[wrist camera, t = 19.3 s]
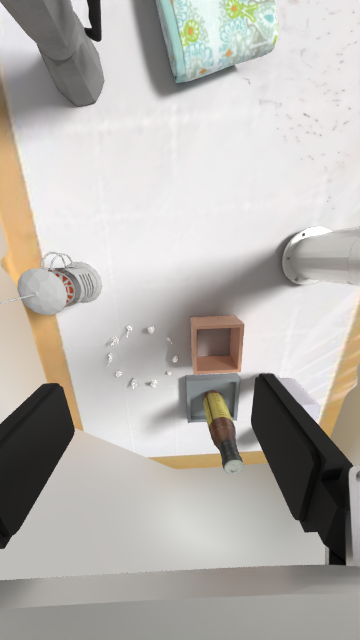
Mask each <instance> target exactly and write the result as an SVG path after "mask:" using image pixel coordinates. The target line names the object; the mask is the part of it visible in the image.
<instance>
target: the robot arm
mask: <svg viewBox="0 0 360 640" xmlns="http://www.w3.org/2000/svg"><path fill="white" fill-rule="evenodd" d="M282 267H283V271H284V273H285V275H286V276H287V278H288V279H289V280H291V281H292V282H294V283H296V284H301V285H311V284H315V283H317V282H319V281H327V282H334V283H341V284H348V285H355V286H360V226H359V227H353V228H348V229H342V230H337V231H331V230H329V229H327V228H324V227H311V228H307V229H305V230H303V231H301V232H299V233H298V234H296V235H295V236H294V237H293V238H292V239H291V240H290V241H289V243H288V244H287V246H286V248H285V250H284V253H283V257H282ZM251 425H252V428H253V430H254V433H255V435H256V437H257V439H258V441H259V444H260V446H261V448H262V450H263V452H264V454H265V457H266V459H267V461H268V463H269V465H270V468H271V470H272V472H273V474H274V476H275V479H276V481H277V483H278V485H279V487H280V489H281V492H282V494H283V496H284V498H285V501H286V503H287V505H288V507H289V509H290V512H291V514H292V515H293V517H294V518H295V520H299V521H300V523H301V525H302V528H303V530H304V532H318V534H319V536H320V538H321V540H322V542H323V544H324V545H326V548H325V565H293V566H258V567H238V568H218V569H217V568H216V569H199V570H198V569H196V570H176V571H158V572H138V573H122V574H121V573H120V574H103V575H84V576H66V577H50V578H34V579H17V580H1V581H0V640H360V465H355V466H353V465H352V463H350V461H349V460H348V459H347V458H346V457H345V455H344V454H343V453H342V452H341V451H340V450H339V448H338V447H337V446H336V445H335V444H334V443H333V441H332V440H331V439H330V438H329V437H328V436H327V435H326V433H325V432H324V431H323V430H322V429H321V428H320V426H319V425H318V424H317V423H316V422H315V421H314V419H313V418H312V417H311V416H310V415H309V414H308V412H307V411H306V410H305V409H304V408H303V407H302V406H301V405H300V404H299V403H298V402H297V401H296V400H295V398H294V397H293V396H292V395H291V394H290V393H289V391H288V390H287V389H286V388H285V387H284V386H283V384H282V383H281V382H280V381H279V380H278V379H277V377H276V376H275V375H274V374H272V373H268V374H260V375H259V377H256V379H255V387H254V396H253V406H252V415H251ZM74 432H75V430H74V425H73V421H72V418H71V414H70V411H69V407H68V404H67V400H66V397H65V393H64V390H63V387H62V386H60V385H59V384H58V383H49V384H43V385H41V386H40V387H39V388H38V389H37V390H36V391H35V392H34V393H33V394H32V395H31V396H30V397H29V398H27V399H26V400H25V401H24V402H23V403H22V404H21V405H20V406H19V407H18V408H17V409H16V410H15V411H14V412H13V413H12V414H11V415H9V416H8V417H7V418H6V419H5V420H4V421H3V422H2V423H1V424H0V549H4V548H5V547H6V545H7V543H8V542H9V540H10V538H11V537H12V535H14V534H16V532H17V531H18V530H19V529H20V527H21V526H22V524H23V522H24V520H25V519H26V517H27V515H28V514H29V512H30V510H31V508H32V507H33V505H34V503H35V501H36V500H37V498H38V496H39V495H40V493H41V491H42V489H43V488H44V486H45V484H46V483H47V481H48V479H49V477H50V476H51V474H52V472H53V470H54V469H55V467H56V465H57V464H58V462H59V460H60V458H61V457H62V455H63V453H64V451H65V450H66V448H67V446H68V445H69V443H70V441H71V439H72V438H73V435H74Z"/></svg>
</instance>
